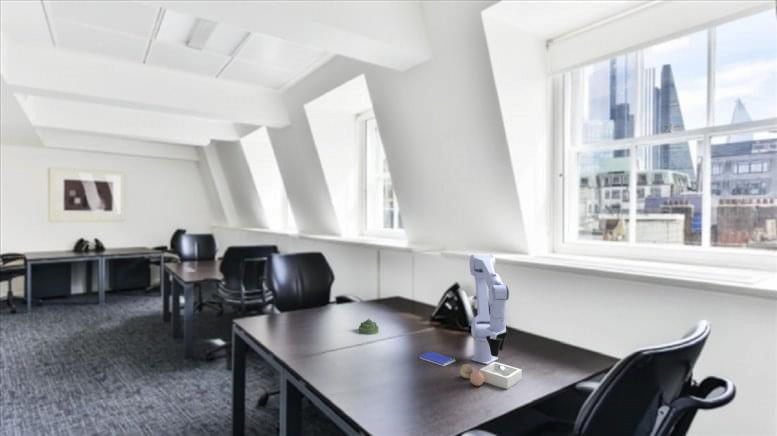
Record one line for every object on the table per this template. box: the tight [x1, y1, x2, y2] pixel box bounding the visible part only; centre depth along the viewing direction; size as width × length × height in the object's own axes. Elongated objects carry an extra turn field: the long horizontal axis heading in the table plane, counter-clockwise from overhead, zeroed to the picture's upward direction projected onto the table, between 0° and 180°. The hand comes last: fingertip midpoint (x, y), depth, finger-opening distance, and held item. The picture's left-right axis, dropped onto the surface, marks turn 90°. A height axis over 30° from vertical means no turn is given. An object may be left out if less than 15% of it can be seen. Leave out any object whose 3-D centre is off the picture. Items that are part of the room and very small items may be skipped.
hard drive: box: [419, 351, 456, 367], centre depth 173 cm, size 2×8×12 cm
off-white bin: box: [478, 361, 523, 390], centre depth 153 cm, size 11×11×4 cm
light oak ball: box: [459, 363, 475, 379], centre depth 154 cm, size 5×5×5 cm
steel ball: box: [493, 365, 507, 376], centre depth 153 cm, size 5×5×5 cm
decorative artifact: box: [358, 317, 379, 336], centre depth 210 cm, size 10×7×10 cm
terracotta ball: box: [469, 370, 485, 387], centre depth 148 cm, size 5×5×5 cm
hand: (496, 352), depth 155 cm, fingers open, 7 cm apart
